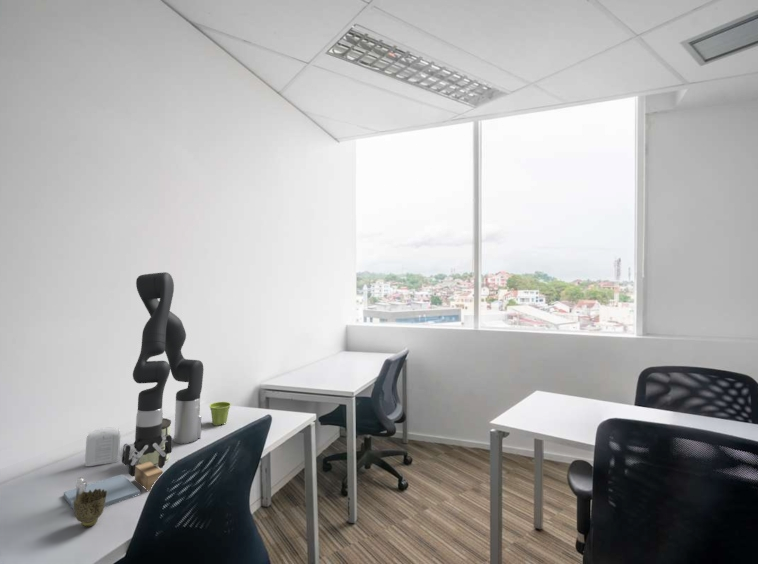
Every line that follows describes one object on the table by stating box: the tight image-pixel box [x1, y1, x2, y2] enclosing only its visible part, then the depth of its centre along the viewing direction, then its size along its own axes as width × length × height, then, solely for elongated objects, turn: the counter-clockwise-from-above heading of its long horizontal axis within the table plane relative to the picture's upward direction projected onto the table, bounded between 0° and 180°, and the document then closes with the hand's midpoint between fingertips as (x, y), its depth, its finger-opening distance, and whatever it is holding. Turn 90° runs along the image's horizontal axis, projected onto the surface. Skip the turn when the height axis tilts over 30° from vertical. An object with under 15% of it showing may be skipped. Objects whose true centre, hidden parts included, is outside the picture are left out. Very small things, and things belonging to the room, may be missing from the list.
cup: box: [73, 489, 107, 528], centre depth 111 cm, size 8×7×8 cm
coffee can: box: [137, 418, 172, 467], centre depth 149 cm, size 10×10×14 cm
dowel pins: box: [75, 477, 87, 498], centre depth 121 cm, size 2×5×5 cm, turn 50°
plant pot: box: [208, 401, 232, 426], centre depth 189 cm, size 9×9×9 cm
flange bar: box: [134, 462, 164, 492], centre depth 133 cm, size 10×4×5 cm, turn 51°
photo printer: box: [84, 427, 122, 467], centre depth 146 cm, size 10×4×12 cm, turn 123°
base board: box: [63, 473, 141, 511], centre depth 125 cm, size 16×15×1 cm
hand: (146, 471), depth 133 cm, fingers open, 8 cm apart
